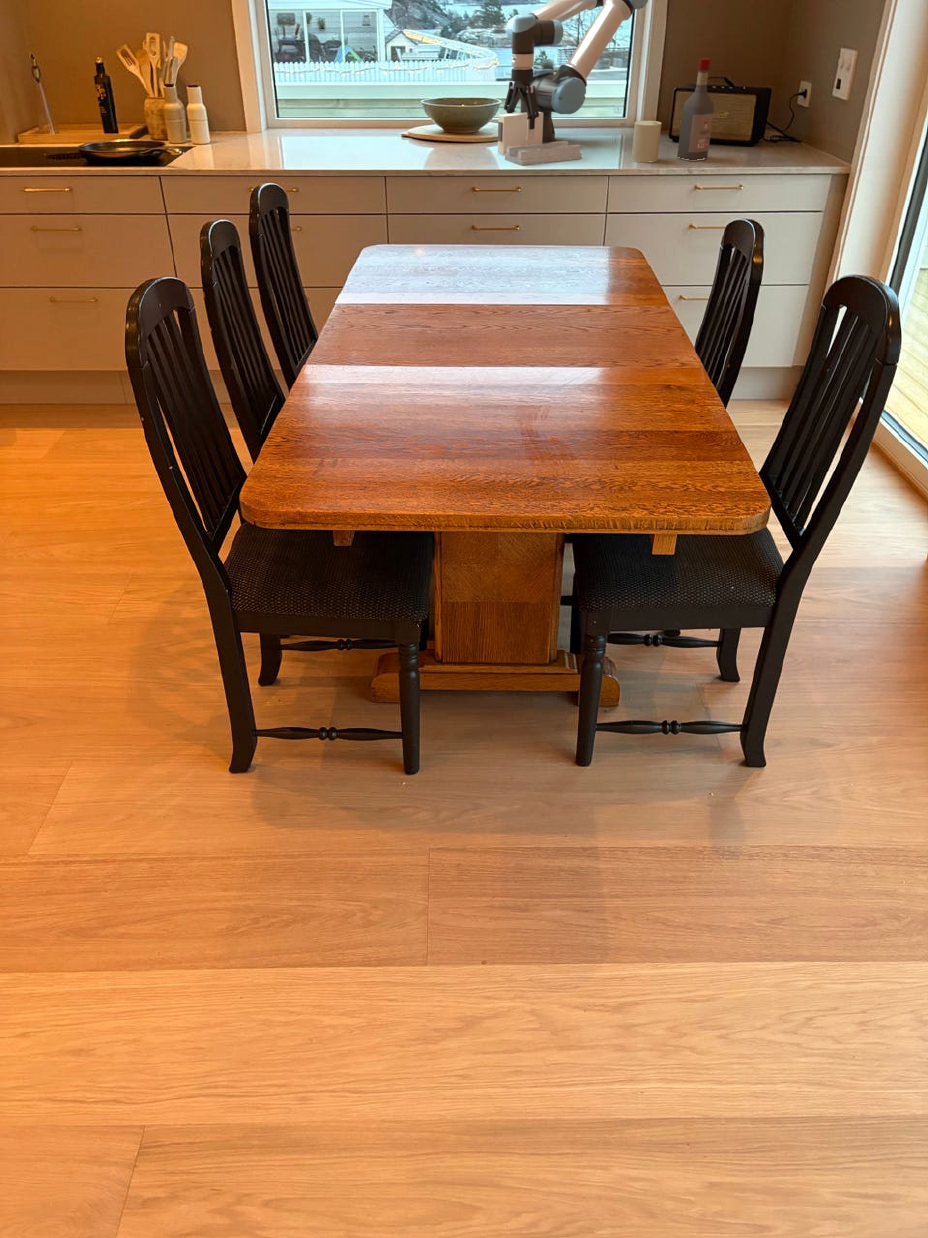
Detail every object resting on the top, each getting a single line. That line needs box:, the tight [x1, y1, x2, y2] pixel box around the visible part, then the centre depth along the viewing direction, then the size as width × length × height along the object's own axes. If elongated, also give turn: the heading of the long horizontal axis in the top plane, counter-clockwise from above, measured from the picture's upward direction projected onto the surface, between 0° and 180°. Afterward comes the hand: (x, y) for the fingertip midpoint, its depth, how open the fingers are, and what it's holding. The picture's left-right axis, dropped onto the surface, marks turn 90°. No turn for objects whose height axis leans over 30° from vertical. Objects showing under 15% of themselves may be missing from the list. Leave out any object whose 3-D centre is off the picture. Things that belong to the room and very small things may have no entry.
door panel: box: [497, 112, 543, 155], centre depth 335 cm, size 17×4×12 cm, turn 118°
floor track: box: [504, 140, 583, 166], centre depth 326 cm, size 24×12×4 cm, turn 118°
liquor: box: [677, 57, 715, 160], centre depth 319 cm, size 9×9×30 cm
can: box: [630, 120, 662, 163], centre depth 322 cm, size 9×9×12 cm
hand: (520, 136), depth 336 cm, fingers open, 13 cm apart
